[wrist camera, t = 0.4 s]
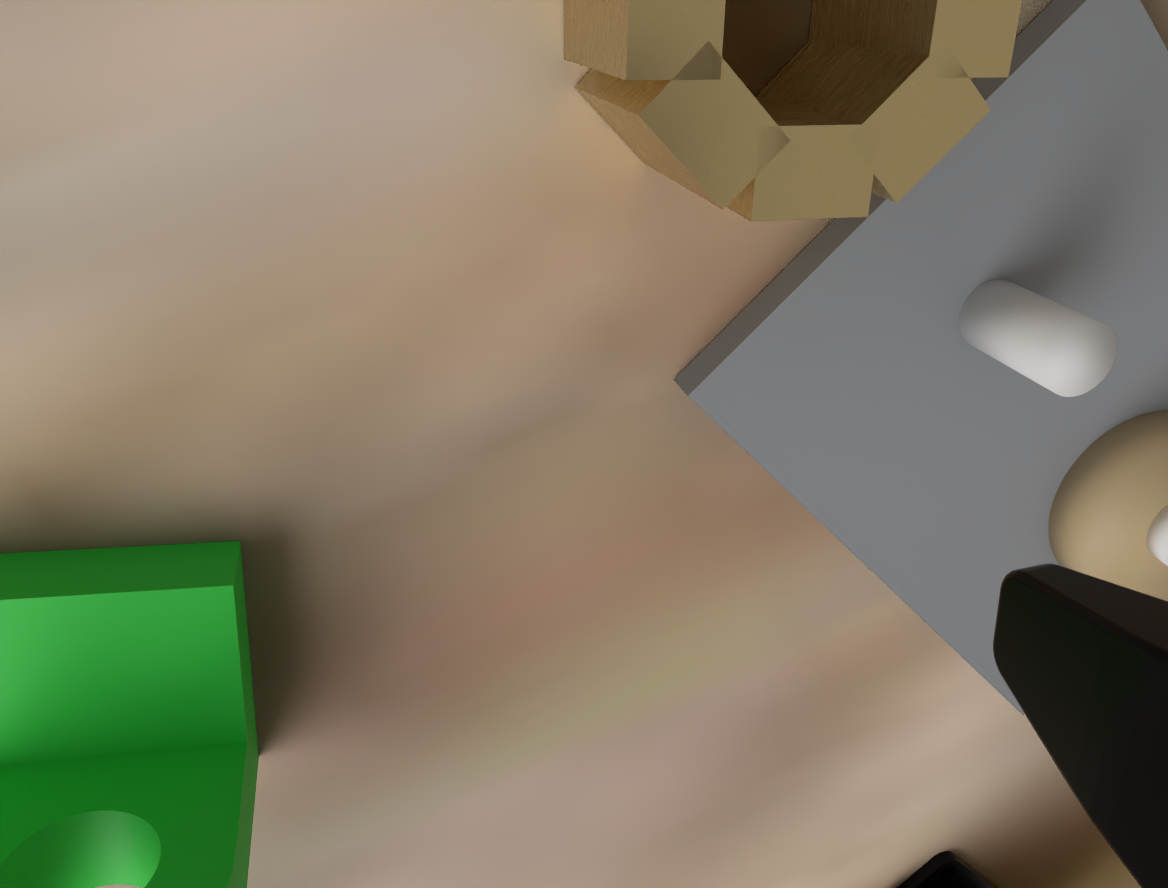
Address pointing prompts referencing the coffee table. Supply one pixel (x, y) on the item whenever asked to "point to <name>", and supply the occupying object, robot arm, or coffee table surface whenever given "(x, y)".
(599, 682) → the coffee table surface
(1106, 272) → the carrier board
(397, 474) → the coffee table surface
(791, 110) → the gear
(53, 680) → the mechanical part
